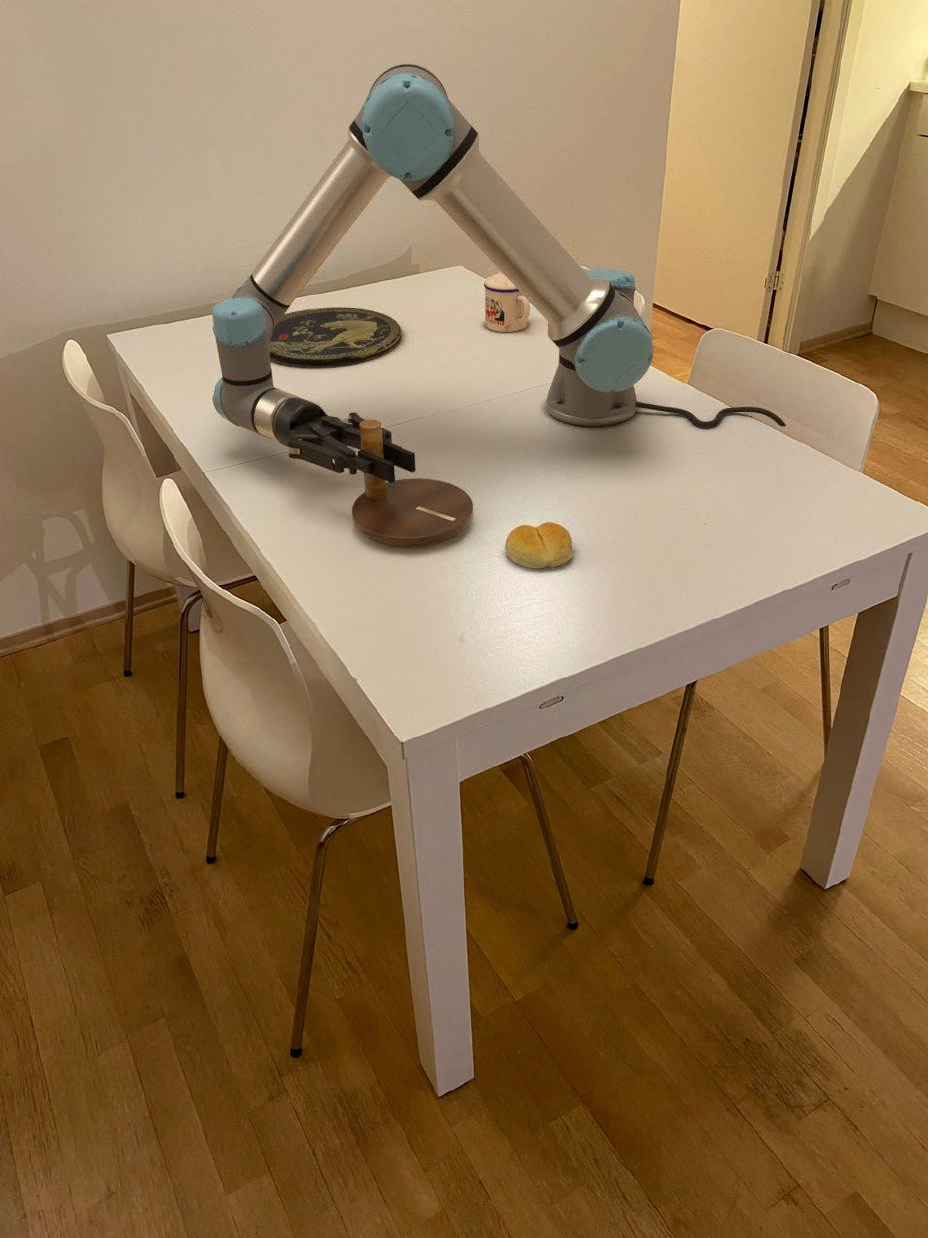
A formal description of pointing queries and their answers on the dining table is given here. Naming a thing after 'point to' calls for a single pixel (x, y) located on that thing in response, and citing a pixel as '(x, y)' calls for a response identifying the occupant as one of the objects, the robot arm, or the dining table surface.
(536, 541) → the bread roll
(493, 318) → the teacup with lid
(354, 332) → the decorative plate
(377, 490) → the turntable
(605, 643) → the dining table surface
